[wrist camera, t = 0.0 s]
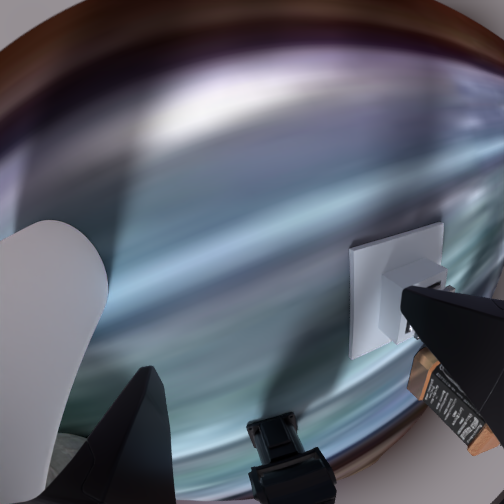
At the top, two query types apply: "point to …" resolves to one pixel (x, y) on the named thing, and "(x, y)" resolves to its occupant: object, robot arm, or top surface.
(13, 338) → the tall pillar cylinder
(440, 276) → the stand
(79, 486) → the robot arm
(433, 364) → the whiskey bottle
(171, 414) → the top surface
